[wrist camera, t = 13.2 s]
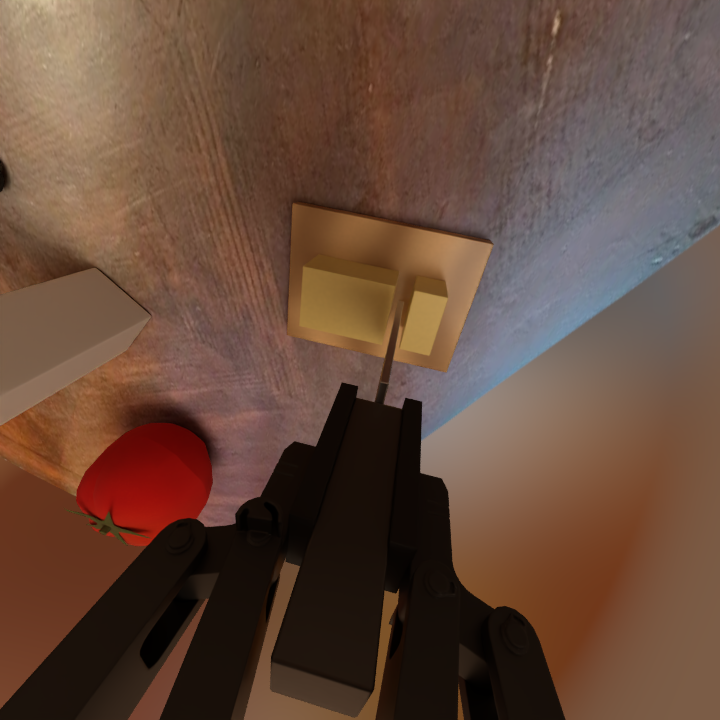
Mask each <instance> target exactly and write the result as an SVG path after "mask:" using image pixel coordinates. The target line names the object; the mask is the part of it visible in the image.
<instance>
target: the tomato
mask: <svg viewBox="0 0 720 720" xmlns="http://www.w3.org/2000/svg"><path fill="white" fill-rule="evenodd" d="M212 483H213V478H212V465H211V462H210V459H209V455H208V452H207V449H206V446H205V443H204V442H203V441H202V440H201V439H200V438H198V437H197V436H196V435H195V434H194V433H193V432H191V431H190V430H188V429H185V428H183V427H181V426H178V425H176V424H172V423H149V424H145V425H142V426H139V427H136V428H134V429H132V430H130V431H128V432H126V433H125V434H123V435H122V436H121V437H120V438H118V439H117V440H116V441H115V442H114V443H112V444H111V445H110V446H109V447H107V449H106V450H105V451H104V452H103V453H102V454H101V455H100V456H99V457H98V458H97V460H96V461H95V462H94V463H93V464H92V465H91V466H90V467H89V468H88V469H87V471H86V472H85V474H84V476H83V478H82V480H81V482H80V484H79V486H78V489H77V497H76V498H77V499H76V501H77V504H78V506H79V507H80V508H81V510H82V511H83V513H79V512H74V511H69V510H67V511H69V512H73V513H76V514H79V515H82V516H86V517H88V518H89V521H90V524H87V525H90V526H92V528H93V530H95V531H97V532H98V533H100V534H103V535H107V536H111V537H117V538H118V539H119V540H120V541H121V542H123V543H124V544H126V543H128V544H131V545H135V546H147V545H149V544H150V542H151V541H152V540H153V539H154V538H155V537H156V536H157V535H158V534H159V532H160V531H161V530H163V529H164V528H165V527H166V526H167V525H169V524H170V523H172V522H174V521H177V520H179V519H184V518H192V519H196V518H197V517H198V516H199V514H200V513H201V511H202V509H203V508H204V506H205V505H206V503H207V500H208V498H209V494H210V491H211V487H212ZM124 541H125V542H126V543H125V542H124Z"/></svg>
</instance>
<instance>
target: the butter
mask: <svg viewBox="0 0 720 720" xmlns="http://www.w3.org/2000/svg"><path fill="white" fill-rule="evenodd" d="M398 276H399V271H395V270H390V269H385V268H381V267H376V266H371V265H367V264H362V263H357V262H353V261H348V260H343V259H339V258H334V257H329V256H325V255H320V254H318V255H317V256H316V257H315V258H313V259H312V260H311V261H309V262H308V263H307V264H305V265H304V266H303V276H302V291H301V307H300V323H299V326H302V327H306V328H311V329H315V330H319V331H323V332H328V333H332V334H336V335H341V336H345V337H349V338H354V339H358V340H362V341H367V342H371V343H375V344H380V345H382V343H383V340H384V336H385V332H386V328H387V325H388V320H389V316H390V311H391V307H392V303H393V298H394V294H395V290H396V285H397V281H398Z"/></svg>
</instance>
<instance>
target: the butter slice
mask: <svg viewBox="0 0 720 720" xmlns="http://www.w3.org/2000/svg"><path fill="white" fill-rule="evenodd" d="M447 301H448V293H447V287H446V282H445V281H441V280H436V279H432V278H427V277H422V276H418V275H417V276H416V278H415V282H414V286H413V290H412V293H411V297H410V301H409V305H408V309H407V313H406V317H405V321H404V324H403V329H402V335H401V341H400V347H399V349H402V350H406V351H410V352H415V353H419V354H423V355H428V356H429V355H430V353H431V350H432V347H433V344H434V341H435V338H436V335H437V332H438V328H439V325H440V322H441V319H442V316H443V313H444V310H445V307H446V304H447Z"/></svg>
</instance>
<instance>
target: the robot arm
mask: <svg viewBox="0 0 720 720" xmlns="http://www.w3.org/2000/svg"><path fill="white" fill-rule="evenodd" d="M357 390H358V386H355V385H351V384H346V383H342V384H341V386H340V389H339V391H338V394H337V396H336V399H335V401H334V404H333V406H332V409H331V411H330V413H329V416H328V418H327V421H326V423H325V426H324V428H323V431H322V433H321V436H320V438H319V441H318V443H317V445H316V447H315V446H311V445H307V444H303V443H299V442H295V441H294V442H293V443H292V444H291V445H290V446H288V447H287V448H286V449H285V450H284V452H283V454H282V455H281V457H280V459H279V462H278V463H277V465H276V467H275V469H274V472H273V473H272V475H271V477H270V479H269V481H268V483H267V485H266V487H265V489H264V490H263V492H262V494H261V496H260V497H257V498H254V499H251V500H248V501H247V502H246V503H244V504H243V505H242V506H241V507H240V508H239V510H238V511H237V513H236V514H235V517H236V523H235V524H233V525H227V526H215V527H204V524H202V523H201V522H200V521H199V520H197V519H192V518H184V519H179V520H177V521H174V522H172V523H170V524H169V525H167V526H166V527H165V528H164V529H163V530H161V531H160V532H159V534H158V535H157V536H156V537H155V538H154V539H153V540H152V541H151V542H150V544H149V545H148V546H147V547H146V548H145V549H144V550H143V551H142V553H141V554H140V555H139V556H138V557H137V558H136V559H135V560H134V561H133V563H132V564H131V565H130V566H129V567H128V568H127V569H126V570H125V572H123V574H122V575H121V576H120V577H119V578H118V579H117V580H116V581H115V582H114V584H113V585H112V586H111V587H110V588H109V589H108V590H107V591H106V592H105V594H104V595H103V596H102V597H101V598H100V599H99V600H98V601H97V602H96V604H95V605H94V606H93V607H92V608H91V609H90V610H89V611H88V613H87V614H86V615H85V616H84V617H83V618H82V619H81V620H80V621H79V622H78V624H77V625H76V626H75V627H74V628H73V629H72V630H71V631H70V632H69V634H68V635H67V636H66V637H65V638H64V639H63V640H62V641H61V642H60V644H59V645H58V646H57V647H56V648H55V649H54V650H53V651H52V652H51V654H50V655H49V656H48V657H47V658H46V659H45V660H44V661H43V662H42V664H41V665H40V666H39V667H38V668H37V669H36V670H35V671H34V672H33V674H32V675H31V676H30V677H29V678H28V679H27V680H26V681H25V682H24V684H23V685H22V686H21V687H20V688H19V689H18V690H17V691H16V692H15V693H14V695H13V696H12V697H11V698H10V699H9V700H8V701H7V702H6V703H5V705H4V706H3V707H2V708H1V709H0V720H128V718H129V717H130V715H131V714H132V712H133V710H134V709H135V707H136V706H137V704H138V703H139V701H140V700H141V698H142V697H143V695H144V693H145V692H146V690H147V689H148V687H149V686H150V684H151V682H152V681H153V679H154V678H155V676H156V675H157V673H158V671H159V670H160V669H161V667H162V666H163V664H164V662H165V661H166V659H167V658H168V656H169V655H170V653H171V652H172V650H173V649H174V647H175V646H176V644H177V642H178V641H179V639H180V638H181V636H182V634H183V633H184V632H185V630H186V629H187V627H188V625H189V624H190V622H191V621H192V619H193V618H194V616H195V615H196V613H197V611H198V610H199V608H200V607H201V605H202V604H203V602H204V601H205V599H206V598H207V599H208V598H209V600H208V602H207V605H206V607H205V610H204V612H203V614H202V617H201V619H200V622H199V624H198V627H197V629H196V632H195V634H194V637H193V639H192V641H191V644H190V646H189V649H188V651H187V654H186V656H185V658H184V661H183V663H182V666H181V668H180V671H179V673H178V676H177V678H176V680H175V683H174V686H173V688H172V690H171V693H170V695H169V698H168V700H167V703H166V705H165V707H164V710H163V712H162V715H161V717H160V720H244V716H245V712H246V708H247V704H248V700H249V697H250V692H251V688H252V685H253V681H254V677H255V673H256V669H257V665H258V662H259V658H260V653H261V650H262V646H263V642H264V638H265V634H266V631H267V627H268V623H269V619H270V615H271V611H272V607H273V603H274V599H275V596H276V592H277V588H278V584H279V579H280V571H281V569H282V566H283V563H284V560H285V558H286V562H288V563H291V564H295V565H298V566H301V563H302V560H303V557H304V553H305V550H306V547H307V544H308V541H309V538H310V535H311V532H312V529H313V527H314V525H315V522H316V518H317V515H318V512H319V509H320V506H321V503H322V500H323V497H324V494H325V490H326V487H327V484H328V481H329V478H330V475H331V472H332V469H333V466H334V462H335V459H336V456H337V453H338V450H339V447H340V444H341V441H342V438H343V434H344V431H345V428H346V425H347V422H348V419H349V416H350V413H351V410H352V406H353V403H354V400H355V398H356V395H357ZM402 409H403V416H402V425H401V434H400V444H399V453H398V463H397V472H396V481H395V491H394V500H393V509H392V519H391V528H390V538H389V552H388V562H387V571H386V581H385V591H389V592H392V593H397V591H398V589H399V598H398V605H397V607H396V609H395V611H394V613H393V615H392V617H391V619H390V622H389V624H391V625H392V628H391V634H390V639H389V645H388V651H387V657H386V662H385V668H384V674H383V680H382V685H381V691H380V696H379V703H378V708H377V714H376V720H458V719H457V718H458V682H459V689H460V695H461V702H462V708H463V716H464V720H565V717H564V714H563V711H562V708H561V705H560V702H559V699H558V696H557V693H556V690H555V687H554V684H553V681H552V678H551V675H550V672H549V669H548V666H547V662H546V659H545V656H544V653H543V650H542V647H541V644H540V641H539V639H538V637H537V635H536V633H535V630H534V628H533V627H532V626H531V624H530V623H529V622H528V620H527V619H526V618H525V617H524V616H523V615H522V614H520V613H519V612H518V611H516V610H515V609H512V608H509V607H506V606H503V607H497V608H496V609H493V608H492V607H490V606H488V605H487V604H486V603H484V602H483V601H481V600H480V599H478V598H477V597H475V596H474V595H473V594H471V593H470V592H469V591H468V590H466V588H465V587H464V586H463V585H462V584H461V582H460V581H459V579H458V577H457V576H456V573H455V571H454V568H453V562H452V548H451V532H450V519H449V517H450V516H449V515H450V514H449V498H448V491H447V489H446V486H445V484H444V482H443V480H442V479H441V478H438V477H433V476H429V475H426V474H422V473H420V456H421V455H420V454H421V422H422V402H421V401H417V400H413V399H408V398H405V401H404V404H403V408H402Z"/></svg>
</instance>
